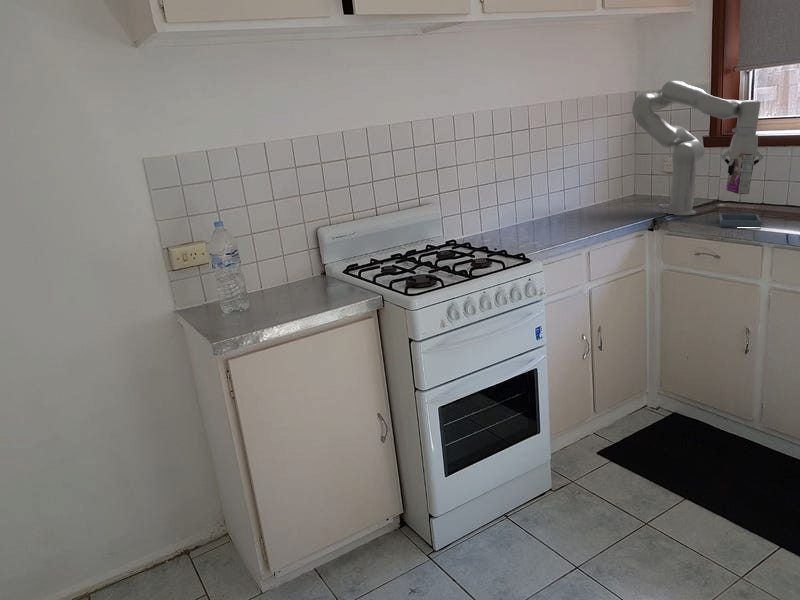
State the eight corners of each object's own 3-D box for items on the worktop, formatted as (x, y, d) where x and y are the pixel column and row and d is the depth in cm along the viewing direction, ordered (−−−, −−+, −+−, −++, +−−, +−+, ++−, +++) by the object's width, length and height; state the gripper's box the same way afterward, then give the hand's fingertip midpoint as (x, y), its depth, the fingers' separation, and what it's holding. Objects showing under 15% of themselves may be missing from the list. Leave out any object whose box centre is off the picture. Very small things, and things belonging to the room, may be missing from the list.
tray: (720, 227, 256) (721, 220, 255) (718, 220, 270) (719, 213, 269) (760, 229, 250) (761, 221, 249) (756, 222, 264) (757, 214, 264)
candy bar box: (725, 190, 277) (730, 151, 272) (737, 190, 277) (742, 151, 272) (737, 194, 266) (743, 154, 261) (749, 194, 266) (755, 153, 261)
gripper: (723, 131, 264) (717, 175, 269) (770, 132, 257) (763, 177, 263) (722, 130, 270) (716, 173, 276) (768, 131, 264) (761, 175, 269)
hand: (739, 174), depth 269 cm, fingers closed on candy bar box, 6 cm apart
